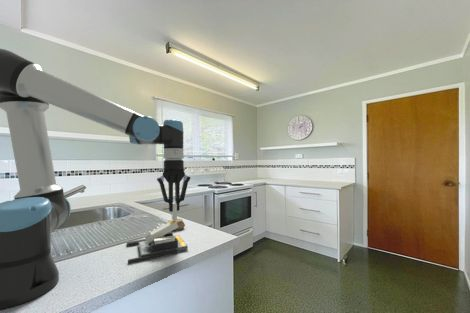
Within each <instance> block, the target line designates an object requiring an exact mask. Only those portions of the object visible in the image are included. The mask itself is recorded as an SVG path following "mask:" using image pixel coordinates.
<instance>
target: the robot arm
mask: <svg viewBox="0 0 470 313" xmlns="http://www.w3.org/2000/svg"><path fill="white" fill-rule="evenodd" d="M50 105H52V106H53V107H54V106H55V107H57V108H60V109H61V110H63V111H67V112H69V113H72V114H74V115H76V116H79V117H82V118H84V119H86V120H90V121H92V122H95V123H97V124H100V125H103V126H105V127H107V128H110V129H112V130H115V131H118V132H120V133H122V134H124V135H127V136H128V138H129V139H128V140H129V143H130V144H133V145H163V159H164V160H163V171H162V175H161V176H159V177H156V181H157V182H158V184H159V186H160V191H161V194H162V199H163V202H165V203H168V211H169V212H171V220H173V221H174V220H177V219H178V212H179V211H180V203H181V202H183V201H184V200H185V197H186V193H187V188H188V184H189V182H190V180H191V176H188V175H187V174H186V172H185V171H184V170H185V169H184V167H185V164H184V163H185V161H184V160H183V159H184V123H183V122H182V121H181V120H178V119H165V120H164V121H163V123H162V124H159V122H158V121H157V120H156V119H155V118H154V117H153V116H150V115H142V114H140V113H138V112H135V111H133V110H131V109H129V108H126V107H125V106H122V105H120V104H118V103H115V102H113V101H111V100H109V99H106V98H104V97H103V96H100V95H97V94H95V93H93V92H90V91H88V90H86V89H84V88H82V87H79V86H78V85H75V84H72V83H70V82H68V81H67V80H64V79H61V78H60V77H59V78H58V77H57V76H54V75H52V74H50V73H48V72H46V71H44V70H43V69H42V67H41V66H40V65H39V64H37V63H35V62H33V61H30V60H28V59H27V58H25V57H23V56H20V55H19V54H16V52H15V53H14V52H13V51H10V50H7V49H5V48H0V109H1V110H3V111H4V112H5V113H6V118H7V123H8V130H9V137H10V142H11V146H12V150H13V151H12V152H13V157H14V163H15V169H16V174H17V179H18V185H19V191H18V192H17V193H16V194H15V195H14V196H13V197H14V198H13V199H12V200H6V201H2V202H0V310H3V309H9V308H11V307H16V306H19V305H22V304H25V303H27V302H30V301H32V300H35V299H36V298H39V297H41V296H42V295H45V294H46V293H48V292H50V290H52V289H54V287H56V285H58V282H59V281H60V277H59V276H60V272H59V269H58V267H57V264H56V262H55V260H54V258H53V257H52V252H51V251H52V250H51V247H52V246H51V243H52V242H51V241H52V240H51V239H52V236H51V234H52V233H53V232H55V231H56V230H58V229H60V228H61V227H62V226H63V225H64V224H65V223H66V221H68V218H69V217H70V214H71V210H72V209H71V203H70V201H69V200H68V199H67V198H66V197H65V194H64V193H65V192H64V188H63V187H62V186H60V185H58V184H57V182H56V181H57V180H56V175H55V174H56V173H55V169H54V162H53V157H52V151H51V145H50V141H49V135H48V128H47V122H46V117H45V112H46V111H47V110H48V109H49V108H50ZM165 180H166V182H167V184H168V195H167V190H166V187H165V184H164V181H165ZM182 180H183V182H182V186H180V185H181V181H182ZM180 190H181V192H180ZM174 199H175V201H174Z"/></svg>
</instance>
